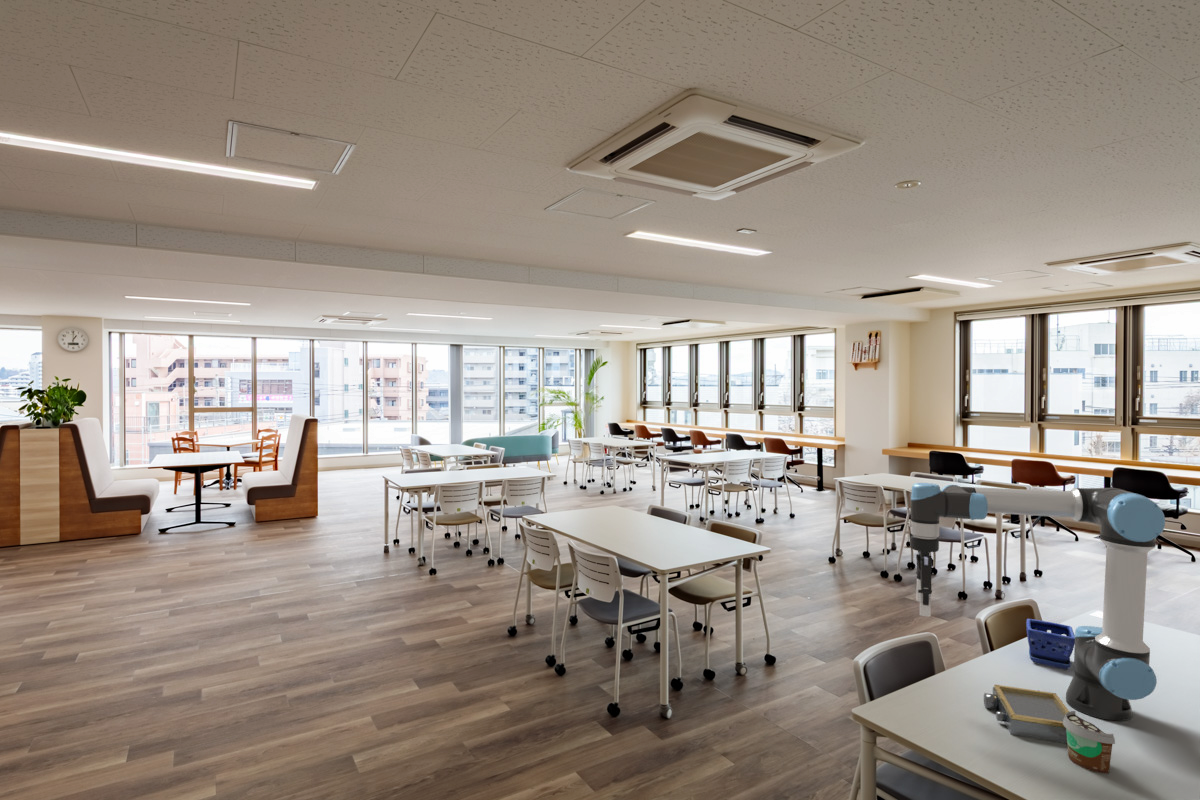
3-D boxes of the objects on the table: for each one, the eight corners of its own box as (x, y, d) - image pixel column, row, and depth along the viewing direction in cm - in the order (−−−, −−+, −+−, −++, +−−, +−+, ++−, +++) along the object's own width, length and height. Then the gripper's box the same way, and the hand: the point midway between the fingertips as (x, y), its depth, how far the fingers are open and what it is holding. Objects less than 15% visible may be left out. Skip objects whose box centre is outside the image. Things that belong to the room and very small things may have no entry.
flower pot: (1071, 659, 222) (1072, 625, 222) (1074, 673, 211) (1075, 637, 211) (1025, 651, 230) (1026, 617, 229) (1026, 664, 218) (1027, 628, 218)
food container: (1049, 749, 166) (1050, 710, 166) (1072, 748, 167) (1073, 709, 166) (1090, 777, 154) (1091, 736, 154) (1114, 777, 154) (1115, 735, 154)
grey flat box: (1056, 710, 187) (1056, 692, 186) (1081, 746, 168) (1082, 726, 168) (980, 698, 193) (981, 682, 193) (997, 732, 174) (998, 713, 174)
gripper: (907, 526, 203) (906, 594, 203) (913, 544, 180) (911, 620, 180) (934, 529, 200) (933, 597, 201) (943, 546, 177) (942, 624, 178)
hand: (923, 608), depth 190 cm, fingers open, 13 cm apart
